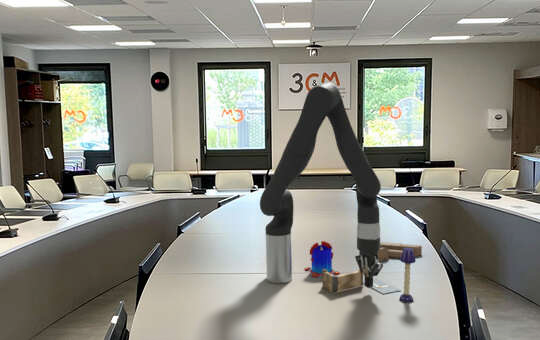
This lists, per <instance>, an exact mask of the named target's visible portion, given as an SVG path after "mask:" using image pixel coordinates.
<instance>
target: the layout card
mask: <svg viewBox="0 0 540 340" xmlns="http://www.w3.org/2000/svg"><path fill="white" fill-rule="evenodd" d="M363 285H365V279H363ZM371 289H372V290H375V291H376V292H378V293H380V294H382V295H386V294H391V293H392V294H394V293H397V292H401V291H402V290H401V289H400V288H397V287H396V286H393V285H391V284H390V283H388V282H385V281H383V280H381V279H379V278H377V277H373V287H371Z"/></svg>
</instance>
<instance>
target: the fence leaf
mask: <svg viewBox="0 0 540 340" xmlns="http://www.w3.org/2000/svg"><path fill="white" fill-rule="evenodd" d="M363 280H364V275H363V272H361V271H360V269H358V270H356V271H351V272H348V273H343V274H339V275H334V276H332V286H333V292H332V293H338V292H342V291H347V290H350V289H355V288H359V287H362V286H364V284H363Z"/></svg>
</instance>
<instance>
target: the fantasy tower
mask: <svg viewBox="0 0 540 340" xmlns="http://www.w3.org/2000/svg"><path fill="white" fill-rule="evenodd" d="M320 243H321V244H319V242H315V243H314V244H312V245H311V247H310V249H309V255H310V256H311V258H310V260H311V267H305V268H304V269H303V271H304V270H305V271H304V272H308V273H309V272H310V273H311V274H310V273H309V274H310V275H311V278H315V279H317V278H320V277H322V270H323V269H327V272H329V273H331V274H332V275H334V276H338V275H341V272H340V271H337V270H336V271H334V269H333V263H332V262H333V261H332V260H333V257H334V252H333V251H332V250H333V246H332V245H331V243H330V242H328V241H323V240H322V241H321V242H320ZM310 269H311V270H310Z"/></svg>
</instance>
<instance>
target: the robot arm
mask: <svg viewBox="0 0 540 340" xmlns="http://www.w3.org/2000/svg"><path fill="white" fill-rule="evenodd" d="M343 101H344V100H343V97H342V94H341V92H340V89H339V88H338V87H337V85H336V84H333V83H332V82H322V83H319V84H317V85H315V86H313V87H312V88H311V89H310V90H309V91H308V92H307V94H306V97H305V100H304V102H303V106H302V109H301V112H300V115H299V119H298V120H297V123H296V125H295V127H294V129H293V130H292V132H291V135H290V137H289V139H288V141H287V144H286V145H285V148H284V149H283V152H282V154H281V157H280V160H279V162H278V164H277V166H276V167H275V168H276V169H275V170H274V172H273V174H272V176H271V179H270V180H269V182H268V183H267V185H266V187H265V188H264V190H263V191H262V193H261V196H260V199H259V209H260V210H261V211H260V212H261V213H262V214H263V215H264V216H267V217H273V218H271V219H272V220H271V221H270V222H269V223H267V224H266V226H265V252H266V253H265V254H266V262H265V263H266V281H267V282H269V283H272V284H284V283H285V284H286V283H290V282H291V281H292V280H293V261H292V260H293V257H292V252H293V251H292V228H293V225H294V198H293V194H292V192H290V190H289V189H288V187H289V186H290V185H291V184H292V183H293V182H294V181H295V180H296V179H297V178H298V177H299V176H300V175H301V174H302V173H303V172H304V171H305V170H306V168H307V167H308V164H309V163H310V160H311V159H312V156H313V154H314V152H315V149H316V143H317V135H318V132H319V130H320V128H321V126H322V124H323V123H324V120H325V119H326V117H327V118H328V121H329V123H330V124H331V127H332V130H333V134H334V139H335V143H336V147H337V150H338V152H339V155H340V157H341V159H342V161H343V163H344V165H345V167H346V168H347V170H348V171H349V173H351V176H352V178H353V180H354V182H355V194H356V203H357V212H356V213H357V214H356V215H357V216H356V217H357V224H356V249H357V250H358V253H359V254H358V255H355V256H354V257H355V261H356V263H357V266H358V268H359V269H358V270H360V271H361V272H363V277H364V280H365V284H364V287H365V288H367V289H370V288H371V287H373V278H374V277H376V276H378V275H379V274H380V272H381V271H382V269H383V267H384V264H383V263H382V262H380V261H378V254H377V252H378V251H379V250H380V243H381V225H380V207H379V204H378V195H379V194H380V192H381V189H382V188H381V187H382V185H381V181H380V179H379V177H378V176H377V174H376V172H375V171H374V169H373V167H372V165H371V163H369V161H368V157H367V156H366V154H365V151H364V150H363V148H362V146H361V144H360V141H359V140H358V138H357V136H356V133H355V131H354V129H353V126H352V124H351V121H350V119H349V116H348V112H347V110H346V107H345V105H344V102H343ZM371 289H372V288H371Z"/></svg>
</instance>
